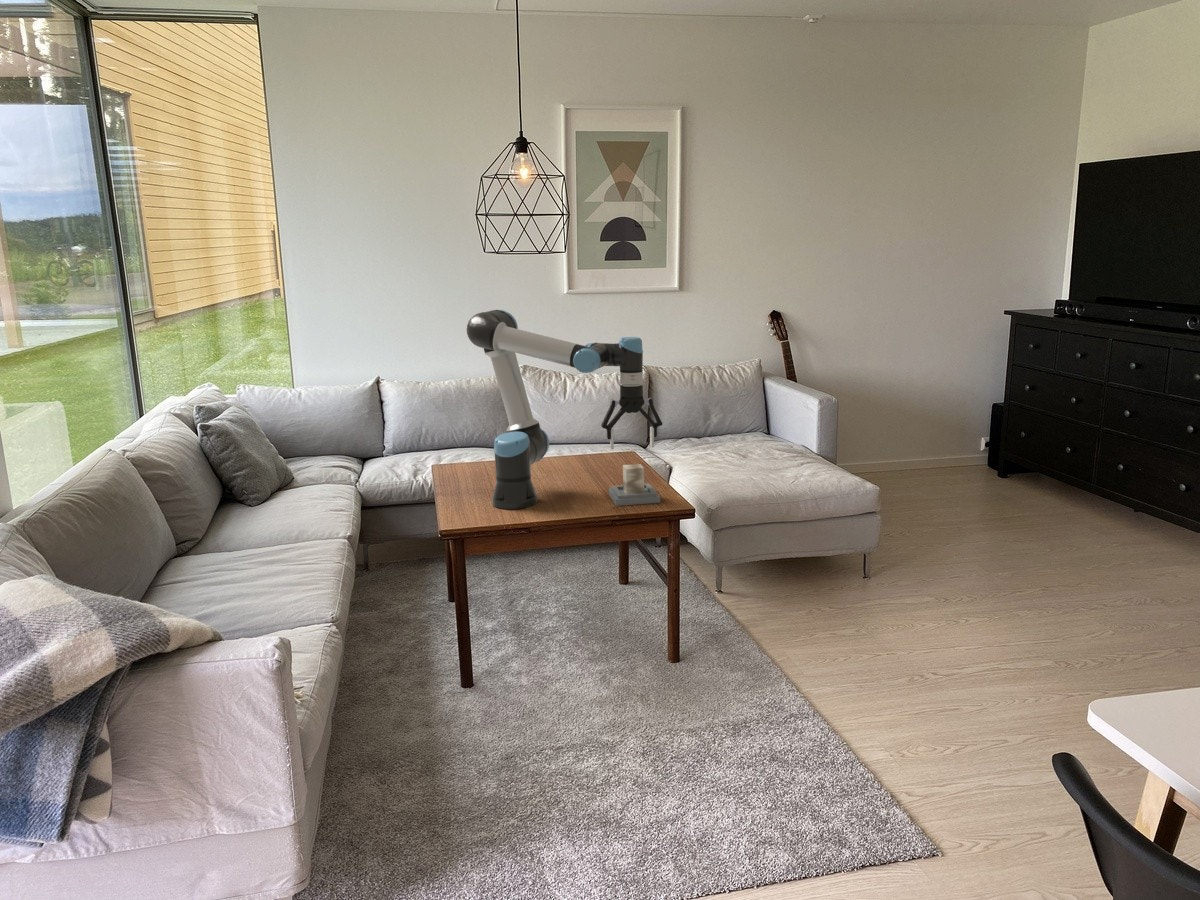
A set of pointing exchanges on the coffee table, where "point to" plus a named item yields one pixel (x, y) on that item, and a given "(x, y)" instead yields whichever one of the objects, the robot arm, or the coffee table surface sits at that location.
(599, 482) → the coffee table surface
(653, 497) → the slate plinth
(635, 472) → the birch block
